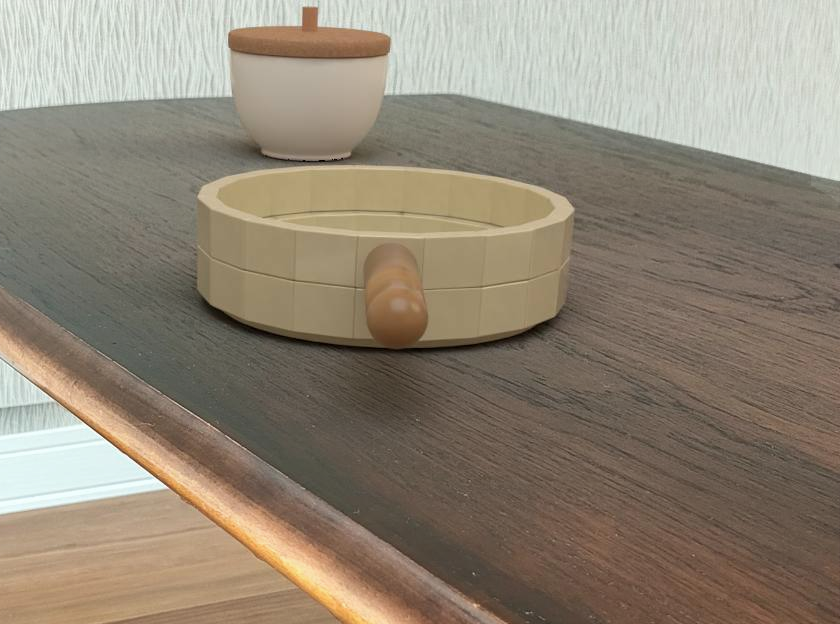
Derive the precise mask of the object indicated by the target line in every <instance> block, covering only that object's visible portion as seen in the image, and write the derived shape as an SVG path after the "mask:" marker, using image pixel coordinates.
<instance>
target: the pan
mask: <svg viewBox="0 0 840 624" xmlns="http://www.w3.org/2000/svg"><path fill="white" fill-rule="evenodd" d="M575 213H576V209H575V207H574V206H573V205H572V204H571V203H570V201H569V200H568V198H566V197H565V196H563V195H561V194H558V193H556V192H554V191H551V190H549V189H547V188H545V187H542V186H539V185H534V184H530V183H526V182H523V181H517V180H514V179H509V178H505V177H499V176H494V175H493V176H492V175H486V174H480V173H472V172H466V171H459V170H458V171H457V170H452V169H451V170H448V169H439V168H427V167H417V166H416V167H414V166H397V165H394V166H393V165H368V164H367V165H366V164H365V165H364V164H355V165H354V164H343V165H342V164H339V165H338V164H337V165H336V164H335V165H334V164H333V165H305V166H304V165H302V166H290V167H289V166H288V167H280V168H279V167H278V168H267V169H258V170H253V171H248V172H243V173H238V174H232V175H227V176H223V177H221V178H218V179H216V180H214V181H211V182H209V183H207V184H204V185H202V186H201V188H200V191H199V192H198V195H197V197H196V243H197V245H196V278H197V279H196V290H197V292H198V293H199V294H200V296H201V297H202V298H203V299H204V300H205V301H206V302H207V303H208V304H209V305H210V306H211V307H213V308H216V309H218V310H220V311H221V312H223V313H224V314H225V315H227V316H228V317H229V318H232V319H233V320H235V321H237V322H239V323H241V324H243V325H246V326H249V327H252V328H254V329H258V330H260V331H264V332H268V333H270V334H275V335H277V336H283V337H288V338H293V339H297V340H304V341H308V342H309V341H310V342H314V343H320V344H321V343H323V344H330V345H339V346H347V347H348V346H349V347H359V348H360V347H361V348H377V349H388V348H387V347H384V346H383V345H381V344H379V343H378V342H377V341H376V340H375V339H374V338H373V337H372V335H371V333H370V331H369V329H368V326H367V320H366V305H365V290H364V274H363V268H364V263H365V260H366V258H367V256H368V255H369V253H370V252H371V251H372V250H373V249H374V248H376V247H377V246H379V245H381V244H385V243H398V244H401V245H403V246H405V247H406V248H408V249H409V250H410V251H411V252H412V254H413V255H414V257H415V258H416V261H417V264H418V269H419V274H420V278H421V283H422V288H423V292H424V297H425V302H426V306H427V311H428V324H427V328H426V330H425V333H424V334H423V336H422V337H421V338H420V339H419V341H418V342H416V343H415V344H413V345H412V346H409V347H407V348H406V349H432V348H447V347H458V346H459V347H461V346H466V345H467V346H469V345H475V344H482V343H488V342H494V341H497V340H502V339H507V338H510V337H513V336H517V335H519V334H522V333H525V332H527V331H529V330H531V329H533V328H535V327H536V326H538V324H541V323H543V322H546V321H548V320H551V319H553V318H556V316H557V315H558V313H559V312H560V311H561V309H562V308H563V307H564V305H565V304H566V302H567V301H566V299H567V291H568V281H569V273H570V271H569V270H570V269H569V268H570V263H571V252H572V251H571V250H572V242H573V241H572V240H573V235H574V234H573V233H574V222H575Z"/></svg>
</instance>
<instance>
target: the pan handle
mask: <svg viewBox="0 0 840 624" xmlns="http://www.w3.org/2000/svg"><path fill="white" fill-rule="evenodd" d="M363 274H364V290H365V305H366V320H367V326H368V329H369V331H370V333H371V335H372V337H373V338H374V339H375V340H376V341H377V342H378V343H379V344H381V345H383V346H384V347H387V348H386V349H390V350H391V349H392V350H403V349H408V348H407V347H409V346H412V345H413V344H415V343H416V342H418V341H419V339H420V338H421V337H422V336H423V334H424V333H425V330H426V328H427V324H428V311H427V306H426V302H425V297H424V292H423V288H422V283H421V278H420V274H419V269H418V264H417V261H416V258H415V257H414V255H413V254H412V252H411V251H410V250H409V249H408V248H406V247H405V246H403V245H401V244H398V243H385V244H381V245H379V246H377V247H376V248H374V249H373V250H372V251H371V252H370V253H369V255H368V256H367V258H366V260H365V263H364V268H363Z"/></svg>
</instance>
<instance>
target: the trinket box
mask: <svg viewBox="0 0 840 624" xmlns="http://www.w3.org/2000/svg"><path fill="white" fill-rule="evenodd" d="M301 9H302V11H301V12H302V13H301V25H267V26H266V25H265V26H248V27H239V28H234V29H232V30H230V31H229V32H228V33H227V46H228V47H227V48H228V49H229V78H230V89H231V90H230V91H231V95H232V96H231V97H232V100H233V105H234V109H235V111H236V114H237V117H238V119H239V122H240V123H241V126H242V127H243V129H244V130H245V131H246V133H247V134H248V136H249V137H250V138H251V139H252V140H253V141H254V143H256V144H257V145H258V146H259V147H260V153H261V154H262V155H264V156H266V155H267V156H266V157H269V158H275V159H279V160H288V159H289V160H288V161H303V160H305V161H307V162H308V161H309V162H320V161H319V160H325V161H335V160H334V159H337V160H342V159H341V158H343V159H346V158H349V157H351V156H352V150H353V149H354V148H355V147H357V146H358V145H360V143H361V142H362V141H363V140H364V139H365V138H366V137H367V136H368V134H369V133H370V132H371V130H372V128H373V127H374V125H375V124H376V121H377V119H378V117H379V115H380V112H381V108H382V104H383V101H384V99H385V98H384V97H385V92H386V87H387V78H388V68H389V67H388V65H389V64H388V63H389V54H390V52H391V44H392V43H391V42H392V38H391V37H390V35H388V34H385V33H383V32H378V31H373V30H364V29H357V28H347V27H346V28H345V27H332V26H319V25H318V23H319V22H318V21H319V7H318V6H307V5H306V6H302V8H301ZM332 159H333V160H332Z"/></svg>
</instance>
